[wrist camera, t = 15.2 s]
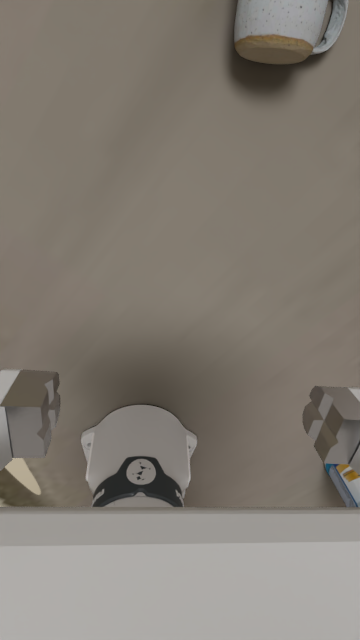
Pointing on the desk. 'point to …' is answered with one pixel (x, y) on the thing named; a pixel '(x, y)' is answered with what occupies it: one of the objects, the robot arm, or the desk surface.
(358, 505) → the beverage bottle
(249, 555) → the robot arm
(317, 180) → the desk surface
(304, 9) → the ceramic mug
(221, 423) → the desk surface
